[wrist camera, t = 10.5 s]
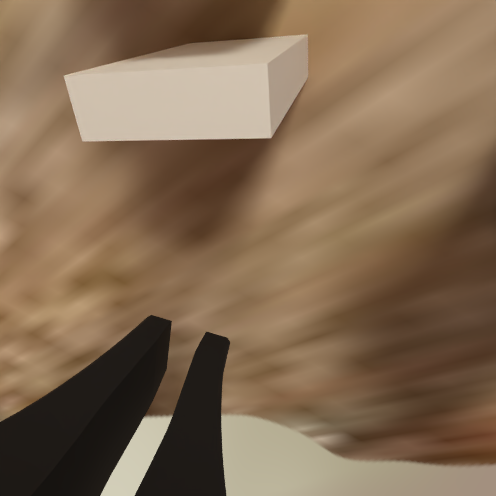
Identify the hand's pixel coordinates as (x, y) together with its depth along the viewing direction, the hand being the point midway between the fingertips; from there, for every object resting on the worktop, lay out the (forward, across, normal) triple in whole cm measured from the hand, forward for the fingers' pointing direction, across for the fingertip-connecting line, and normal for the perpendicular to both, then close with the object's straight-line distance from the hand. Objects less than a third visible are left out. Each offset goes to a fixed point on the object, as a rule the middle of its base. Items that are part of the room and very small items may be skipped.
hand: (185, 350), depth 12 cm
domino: (+10, +2, -6) cm, 12 cm away
